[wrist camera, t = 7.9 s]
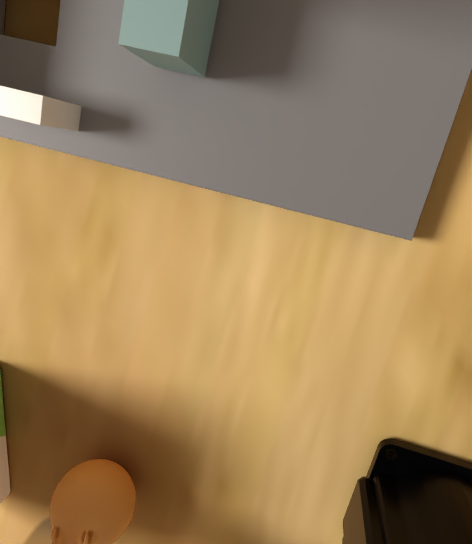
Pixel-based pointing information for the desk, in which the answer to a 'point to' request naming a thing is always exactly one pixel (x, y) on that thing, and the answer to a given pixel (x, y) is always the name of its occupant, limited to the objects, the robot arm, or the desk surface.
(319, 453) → the desk surface
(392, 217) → the board
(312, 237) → the desk surface
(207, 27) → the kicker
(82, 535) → the figurine
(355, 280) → the desk surface
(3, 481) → the ink box
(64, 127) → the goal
